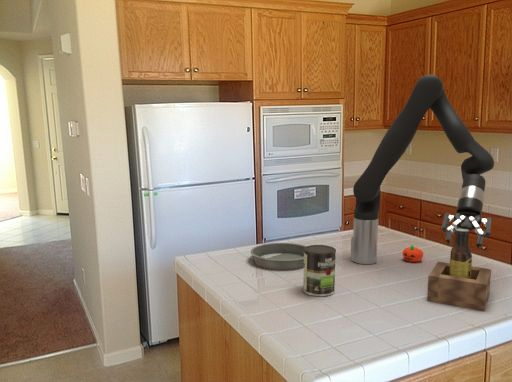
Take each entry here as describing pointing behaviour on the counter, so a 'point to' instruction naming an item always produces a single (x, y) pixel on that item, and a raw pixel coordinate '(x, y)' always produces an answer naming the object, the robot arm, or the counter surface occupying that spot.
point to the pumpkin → (412, 254)
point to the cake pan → (279, 256)
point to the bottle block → (459, 287)
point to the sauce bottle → (461, 255)
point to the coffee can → (319, 270)
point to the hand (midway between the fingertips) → (463, 244)
